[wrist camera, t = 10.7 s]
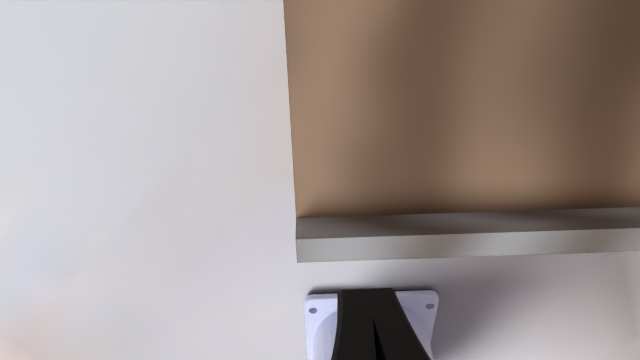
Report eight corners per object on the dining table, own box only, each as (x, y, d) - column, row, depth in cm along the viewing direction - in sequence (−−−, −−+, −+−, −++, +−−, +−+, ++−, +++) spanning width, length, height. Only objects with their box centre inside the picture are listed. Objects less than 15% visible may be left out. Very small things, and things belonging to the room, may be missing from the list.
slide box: (298, 187, 21) (297, 262, 17) (281, -138, 14) (271, -157, 10) (732, 173, 22) (843, 244, 17) (929, -150, 14) (1205, -173, 10)
